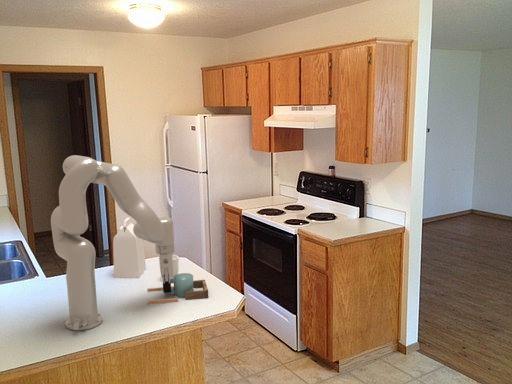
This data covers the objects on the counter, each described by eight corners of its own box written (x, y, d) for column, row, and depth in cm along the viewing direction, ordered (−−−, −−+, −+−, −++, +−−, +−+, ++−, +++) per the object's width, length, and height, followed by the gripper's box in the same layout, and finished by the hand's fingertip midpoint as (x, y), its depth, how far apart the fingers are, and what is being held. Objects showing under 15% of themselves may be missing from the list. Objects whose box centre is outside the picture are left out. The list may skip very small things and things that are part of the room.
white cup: (181, 275, 214) (180, 254, 212) (176, 282, 206) (175, 260, 204) (164, 275, 214) (163, 254, 212) (159, 281, 207) (158, 260, 205)
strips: (178, 301, 186) (178, 299, 185) (147, 304, 183) (147, 301, 183) (176, 288, 199) (176, 285, 199) (147, 290, 196) (147, 288, 196)
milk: (139, 278, 211) (136, 222, 206) (114, 278, 211) (110, 222, 206) (145, 268, 223) (143, 216, 218) (122, 268, 223) (118, 216, 218)
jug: (194, 296, 190) (193, 279, 188) (165, 299, 187) (164, 281, 186) (192, 289, 198) (192, 272, 196) (164, 291, 195) (163, 274, 194)
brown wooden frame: (208, 297, 189) (208, 290, 188) (185, 299, 187) (185, 292, 186) (205, 286, 201) (204, 279, 200) (183, 288, 199) (183, 281, 198)
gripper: (175, 253, 181) (177, 297, 184) (173, 241, 196) (175, 283, 200) (155, 254, 179) (157, 299, 183) (155, 243, 195) (157, 284, 198)
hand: (167, 290), depth 191 cm, fingers closed on jug
